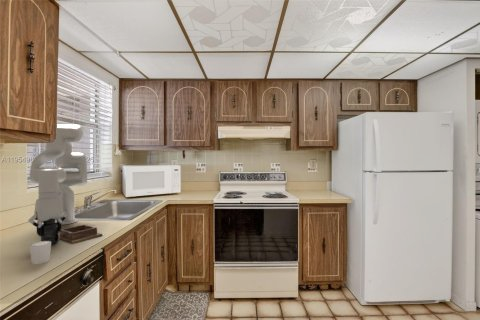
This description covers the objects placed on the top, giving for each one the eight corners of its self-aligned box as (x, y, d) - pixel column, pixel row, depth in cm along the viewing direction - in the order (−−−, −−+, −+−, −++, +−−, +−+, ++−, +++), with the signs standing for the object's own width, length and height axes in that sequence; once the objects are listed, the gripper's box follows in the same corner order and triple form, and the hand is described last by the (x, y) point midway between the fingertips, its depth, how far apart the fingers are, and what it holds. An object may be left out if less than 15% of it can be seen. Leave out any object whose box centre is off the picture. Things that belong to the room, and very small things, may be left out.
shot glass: (55, 257, 108) (54, 240, 108) (45, 264, 101) (45, 245, 101) (36, 258, 107) (36, 241, 107) (25, 265, 100) (25, 246, 100)
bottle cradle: (54, 237, 134) (54, 229, 134) (83, 230, 146) (83, 223, 146) (73, 243, 125) (72, 235, 124) (102, 235, 136) (102, 228, 136)
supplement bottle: (61, 240, 128) (61, 216, 128) (51, 245, 121) (51, 219, 121) (47, 240, 128) (47, 216, 128) (36, 245, 121) (36, 219, 121)
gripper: (65, 192, 133) (65, 227, 134) (22, 197, 119) (23, 237, 119) (72, 193, 129) (73, 230, 130) (29, 199, 115) (30, 240, 115)
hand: (49, 233), depth 125 cm, fingers closed on supplement bottle, 6 cm apart
